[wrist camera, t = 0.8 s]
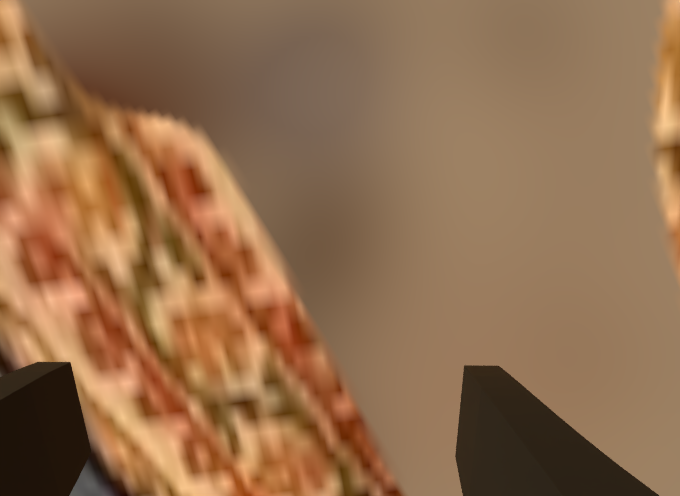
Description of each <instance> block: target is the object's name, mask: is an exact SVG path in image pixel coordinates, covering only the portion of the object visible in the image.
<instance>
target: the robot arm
mask: <svg viewBox="0 0 680 496" xmlns="http://www.w3.org/2000/svg"><path fill="white" fill-rule="evenodd" d="M90 453H91V448H90V444H89V440H88V435H87V431H86V427H85V423H84V418H83V414H82V410H81V406H80V401H79V397H78V393H77V389H76V384H75V380H74V376H73V371H72V367H71V363H70V362H37V363H34V364H31V365H29V366H26V367H23V368H21V369H18V370H16V371H14V372H11V373H9V374H7V375H4V376H2V377H0V496H69V495H70V493H71V491H72V489H73V487H74V485H75V483H76V482H77V480H78V478H79V475H80V473H81V471H82V469H83V467H84V465H85V463H86V461H87V459H88V457H89V455H90ZM456 462H457V466H458V472H459V477H460V482H461V488H462V493H463V496H659V495H658V494H656V493H655V492H654V491H652V490H651V489H650V488H648V487H647V486H646V485H644V484H643V483H642V482H640V481H639V480H638V479H636V478H635V477H634V476H632V475H631V474H630V473H628V472H627V471H626V470H624V469H623V468H622V467H620V466H619V465H618V464H616V463H615V462H614V461H612V460H611V459H610V458H609V457H607V456H606V455H605V454H604V453H603V452H601V451H600V450H599V449H598V448H596V447H595V446H594V445H593V444H591V443H590V442H589V441H588V440H586V439H585V438H584V437H583V436H581V435H580V434H579V433H578V432H576V431H575V430H574V429H573V428H572V427H571V426H569V425H568V424H567V423H565V421H563V420H562V419H561V418H560V417H558V416H557V415H556V414H555V413H554V412H553V411H551V410H550V409H549V408H548V407H547V406H546V405H544V404H543V403H542V402H541V401H540V400H539V399H537V398H536V397H535V396H534V395H533V394H532V393H530V392H529V391H528V390H527V389H526V388H525V387H524V386H522V385H521V384H520V383H519V382H518V381H516V380H515V379H514V378H513V377H511V375H509V374H508V373H507V372H505V371H504V370H503V369H502V368H501V367H499V366H464V374H463V384H462V394H461V404H460V415H459V426H458V436H457V446H456Z"/></svg>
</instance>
